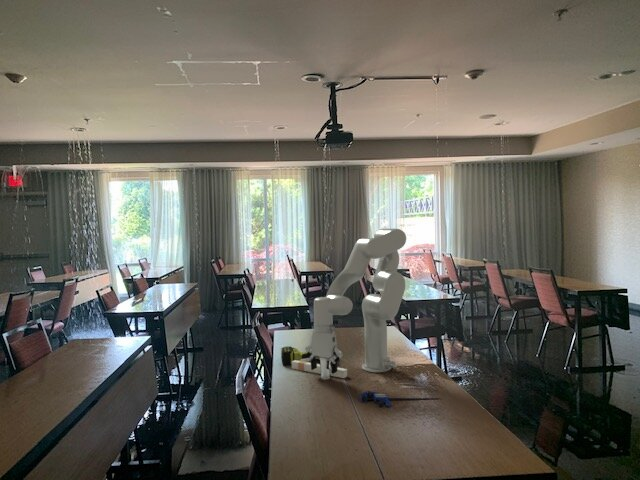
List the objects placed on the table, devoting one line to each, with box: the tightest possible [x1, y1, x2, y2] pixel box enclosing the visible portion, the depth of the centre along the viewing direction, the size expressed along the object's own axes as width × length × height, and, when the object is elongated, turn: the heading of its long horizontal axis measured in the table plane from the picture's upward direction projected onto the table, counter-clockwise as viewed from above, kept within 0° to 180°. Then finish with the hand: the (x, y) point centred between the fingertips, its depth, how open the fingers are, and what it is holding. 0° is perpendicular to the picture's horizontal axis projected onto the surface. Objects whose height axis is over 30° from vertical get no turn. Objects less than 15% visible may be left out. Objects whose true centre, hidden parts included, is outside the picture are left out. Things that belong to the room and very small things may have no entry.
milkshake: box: [318, 357, 332, 381], centre depth 177 cm, size 5×5×10 cm
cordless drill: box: [280, 345, 332, 367], centre depth 207 cm, size 7×25×25 cm
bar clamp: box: [359, 390, 444, 408], centre depth 153 cm, size 32×2×10 cm
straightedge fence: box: [291, 360, 348, 379], centre depth 185 cm, size 26×3×3 cm, turn 58°
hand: (324, 370), depth 177 cm, fingers open, 9 cm apart
